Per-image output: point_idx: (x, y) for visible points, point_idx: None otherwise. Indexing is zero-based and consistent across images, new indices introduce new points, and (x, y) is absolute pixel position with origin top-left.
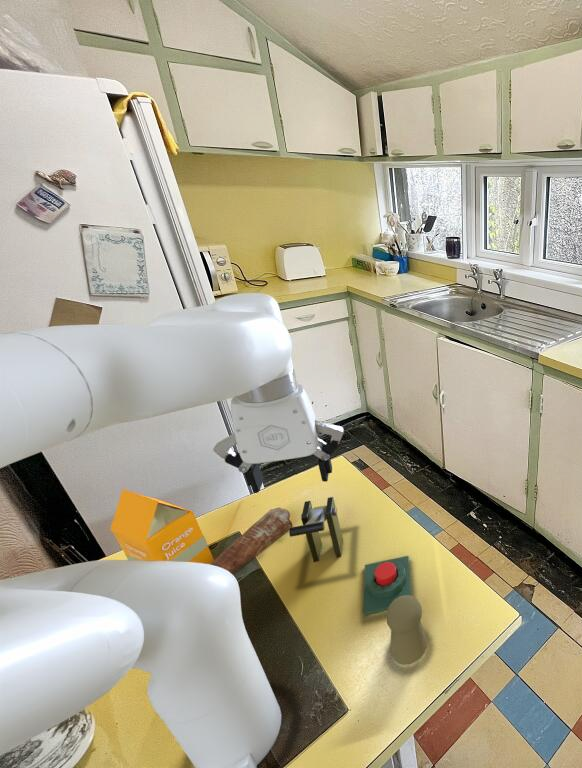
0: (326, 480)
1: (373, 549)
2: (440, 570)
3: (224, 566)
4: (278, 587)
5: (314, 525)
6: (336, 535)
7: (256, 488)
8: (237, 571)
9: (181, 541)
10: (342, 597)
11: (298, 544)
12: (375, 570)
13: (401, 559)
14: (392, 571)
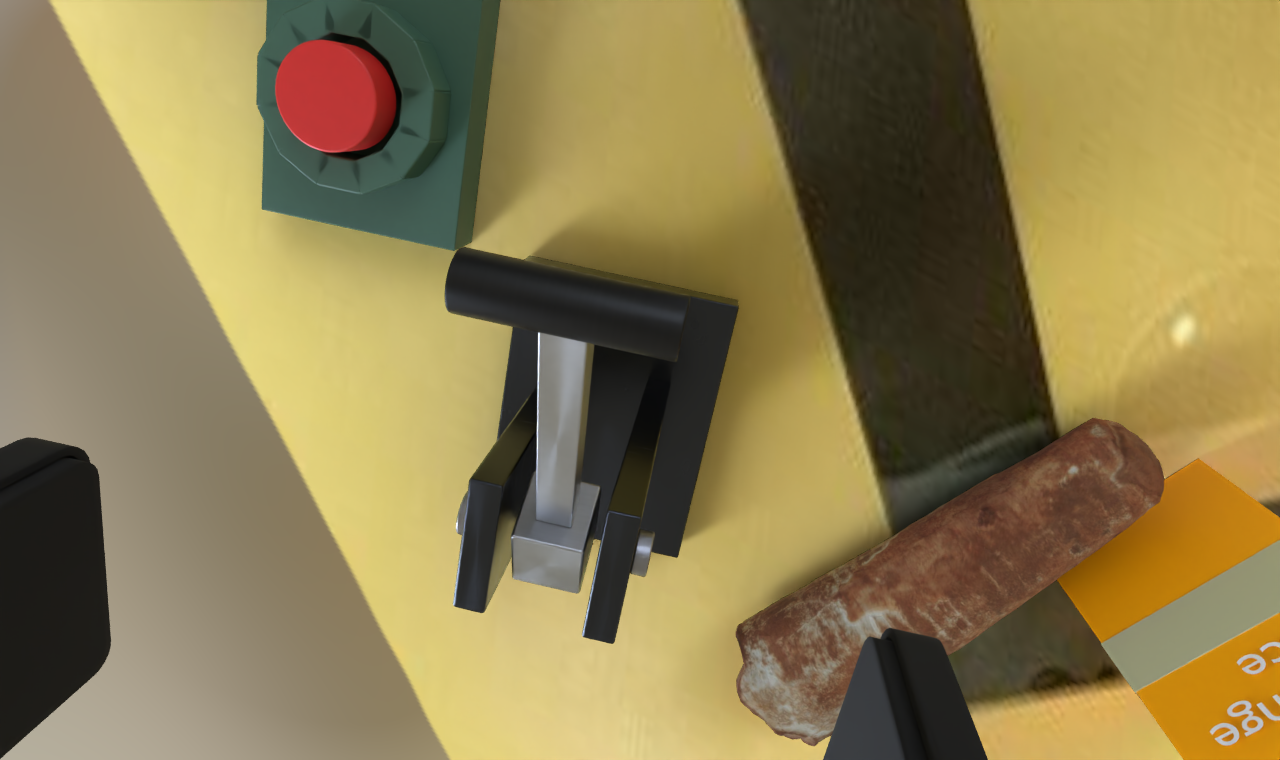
0: (25, 442)
1: (431, 355)
2: (163, 99)
3: (1031, 512)
4: (823, 342)
5: (504, 287)
6: (520, 408)
7: (900, 676)
8: (973, 487)
9: (1264, 683)
10: (580, 160)
11: (726, 530)
12: (370, 120)
13: (293, 202)
14: (290, 72)
